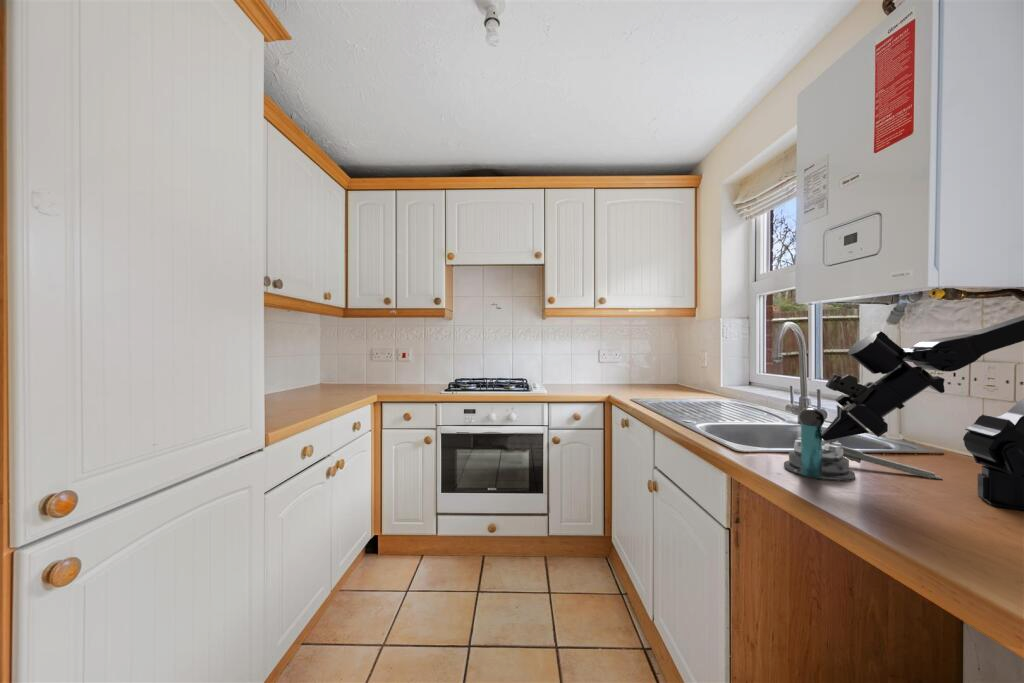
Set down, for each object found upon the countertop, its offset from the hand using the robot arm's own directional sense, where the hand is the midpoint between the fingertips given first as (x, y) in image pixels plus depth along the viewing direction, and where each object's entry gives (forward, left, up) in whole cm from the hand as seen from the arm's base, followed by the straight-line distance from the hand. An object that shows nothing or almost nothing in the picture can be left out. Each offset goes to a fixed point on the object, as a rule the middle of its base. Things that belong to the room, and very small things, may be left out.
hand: (822, 438), depth 86 cm
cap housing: (0, -8, -9) cm, 12 cm away
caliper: (-12, -17, -10) cm, 23 cm away
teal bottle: (+1, -5, -8) cm, 9 cm away
